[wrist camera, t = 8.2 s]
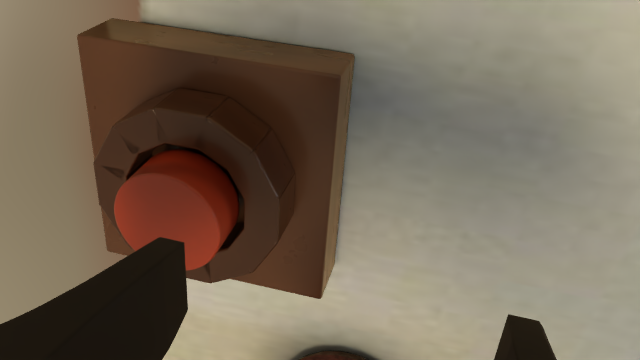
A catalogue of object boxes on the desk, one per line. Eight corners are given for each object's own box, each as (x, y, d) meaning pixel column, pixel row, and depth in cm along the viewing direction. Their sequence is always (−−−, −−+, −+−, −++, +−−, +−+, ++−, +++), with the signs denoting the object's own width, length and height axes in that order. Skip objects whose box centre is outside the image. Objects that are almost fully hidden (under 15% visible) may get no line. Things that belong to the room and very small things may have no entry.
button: (240, 159, 19) (218, 186, 18) (240, 250, 21) (220, 282, 20) (135, 139, 20) (106, 164, 18) (144, 229, 22) (119, 258, 20)
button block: (355, 53, 20) (326, 98, 17) (334, 265, 25) (308, 333, 22) (111, 17, 22) (41, 51, 19) (133, 222, 27) (80, 279, 23)
